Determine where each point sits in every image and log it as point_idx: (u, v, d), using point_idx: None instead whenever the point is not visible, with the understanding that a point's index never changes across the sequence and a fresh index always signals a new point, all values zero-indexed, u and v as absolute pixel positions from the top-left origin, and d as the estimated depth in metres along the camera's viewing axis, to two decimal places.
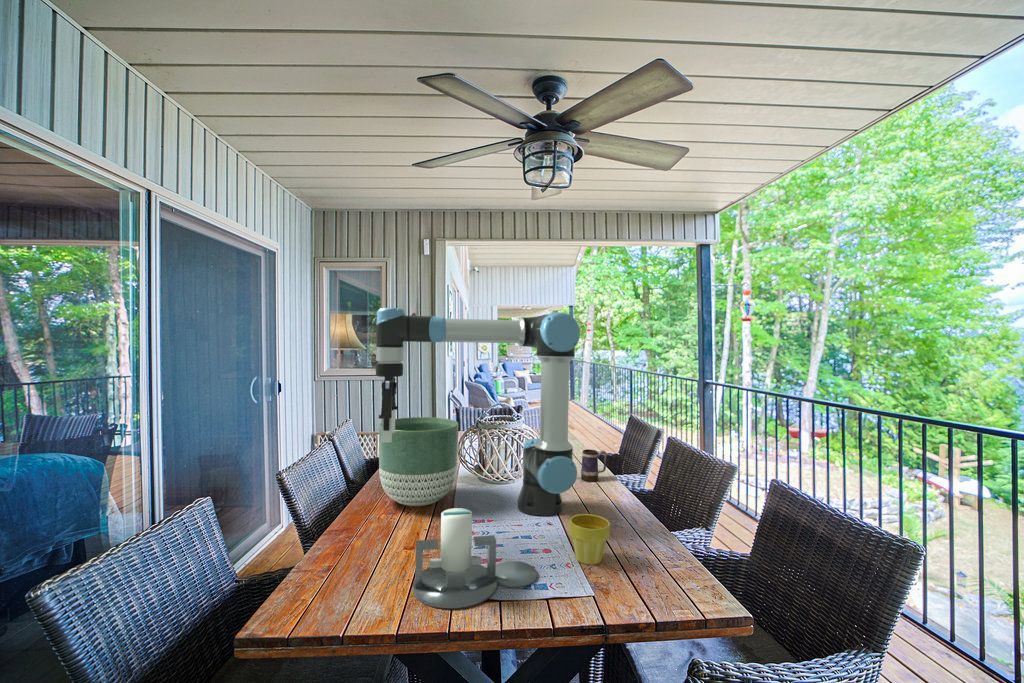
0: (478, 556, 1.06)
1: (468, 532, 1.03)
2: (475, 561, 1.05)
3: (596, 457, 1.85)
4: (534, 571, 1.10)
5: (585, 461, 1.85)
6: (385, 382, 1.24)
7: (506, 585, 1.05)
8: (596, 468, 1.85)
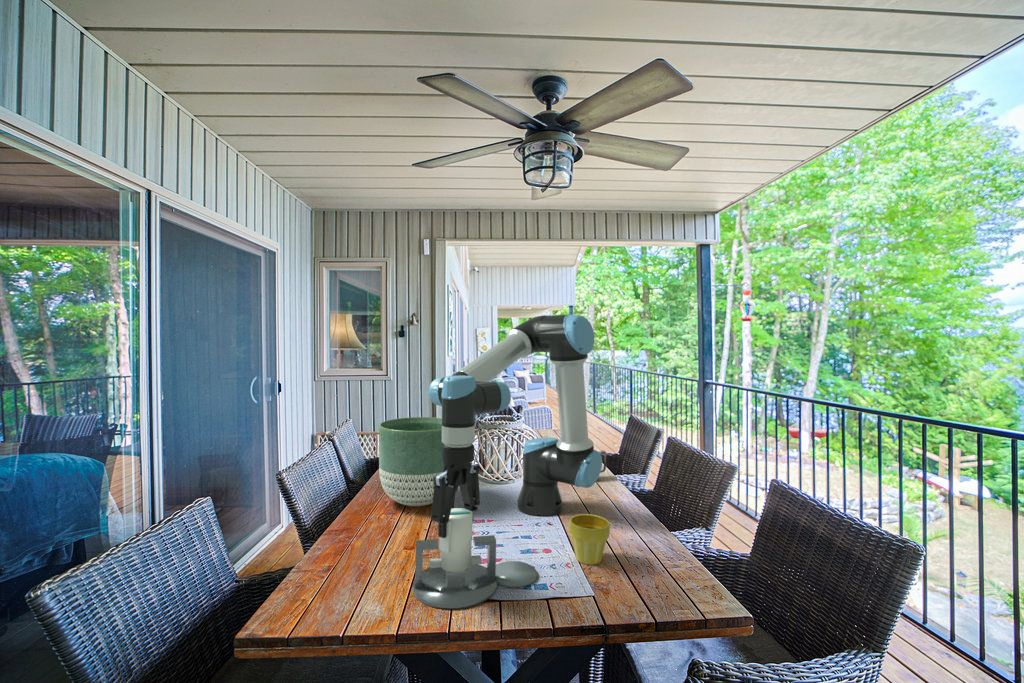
0: (478, 556, 1.06)
1: (468, 532, 1.03)
2: (475, 561, 1.05)
3: None
4: (534, 571, 1.10)
5: None
6: (435, 478, 1.00)
7: (506, 585, 1.05)
8: None
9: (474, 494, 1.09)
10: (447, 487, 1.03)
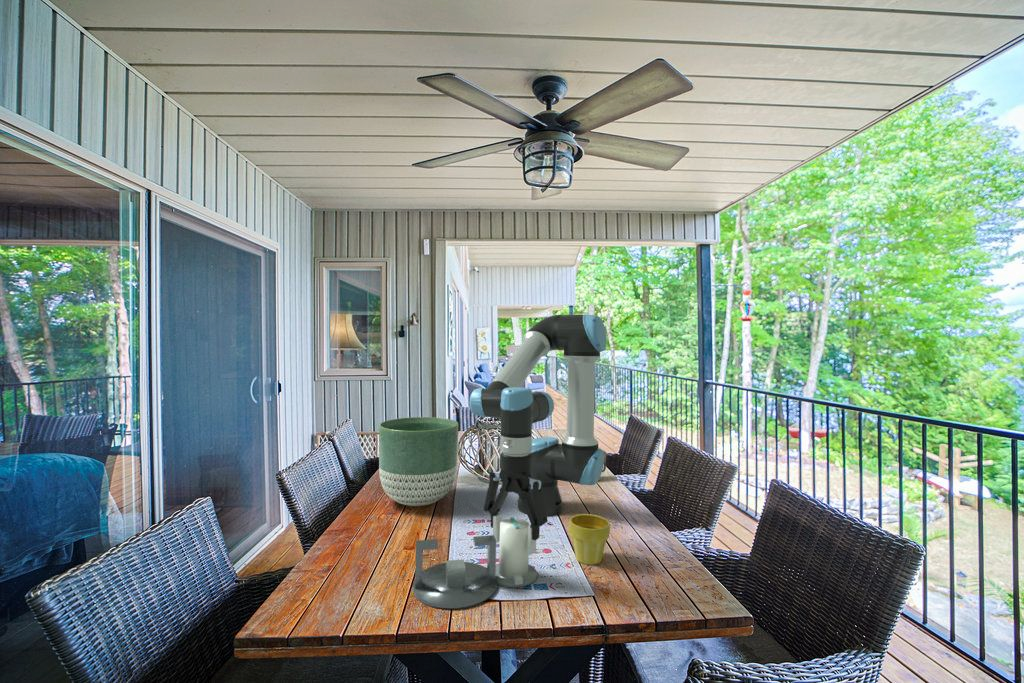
0: None
1: None
2: None
3: None
4: (534, 571, 1.10)
5: None
6: (538, 483, 1.06)
7: (506, 585, 1.05)
8: None
9: (494, 499, 1.14)
10: (526, 493, 1.08)
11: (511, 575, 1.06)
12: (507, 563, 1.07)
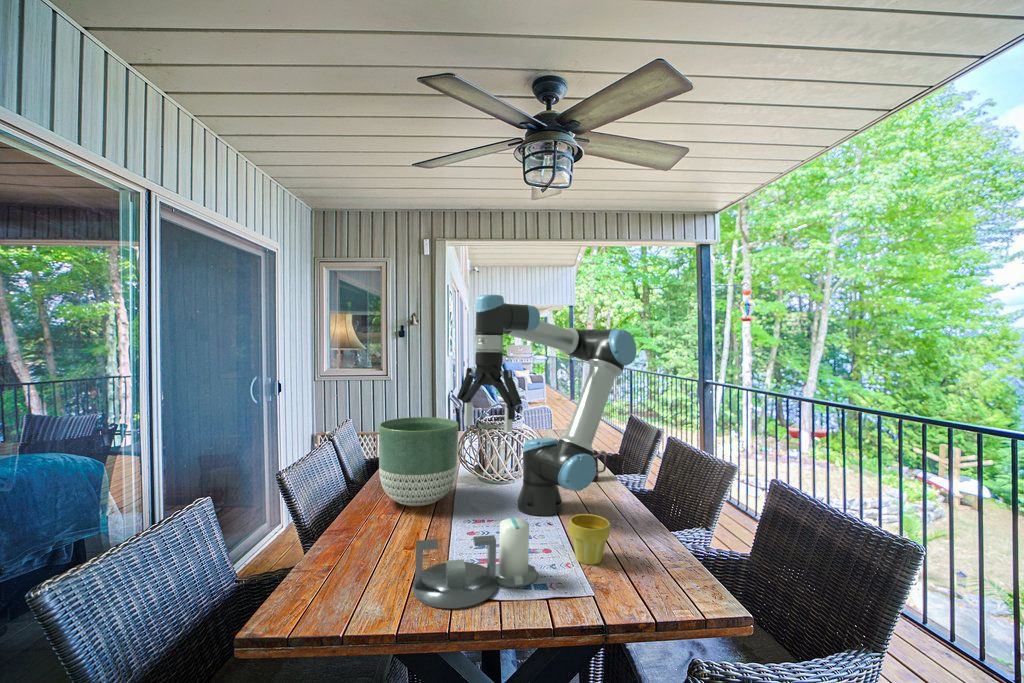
0: None
1: None
2: None
3: (596, 457, 1.85)
4: (534, 571, 1.10)
5: None
6: (507, 371, 1.22)
7: (506, 585, 1.05)
8: (596, 468, 1.85)
9: (467, 391, 1.31)
10: (499, 383, 1.24)
11: (511, 575, 1.06)
12: (507, 563, 1.07)
